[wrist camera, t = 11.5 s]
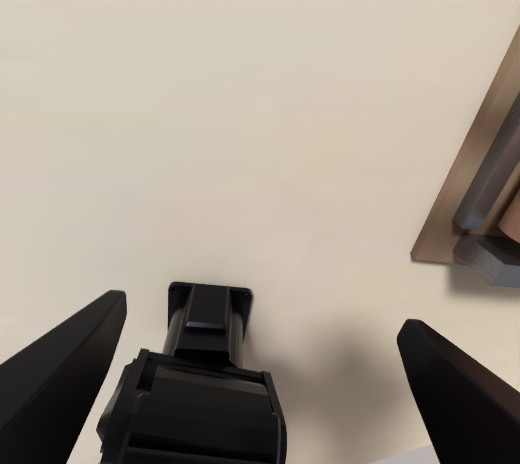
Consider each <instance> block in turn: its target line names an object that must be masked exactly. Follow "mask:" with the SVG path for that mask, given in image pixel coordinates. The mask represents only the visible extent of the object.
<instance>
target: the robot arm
mask: <svg viewBox="0 0 520 464" xmlns="http://www.w3.org/2000/svg"><path fill="white" fill-rule="evenodd" d="M174 288H177V289H174ZM243 294H248V295H243ZM251 298H252V292H251V290H250V289H248V288H240V287H229V286H218V285H207V284H196V283H185V282H172V283H171V284H170V286H169V289H168V334H167V337H166V341H165V344H164V348H163V352H162V354H161V353H155V352H150V350H148V349H142V348H141V350H140V352H139V355H138V357H137V359H135V358H134V359H133V362H132V363H131V364H128V365H125V367H124V370H123V372H122V375H121V378H120V380H119V383H118V385H117V387H116V390H115V392H114V394H113V396H112V397H111V399H110V401H109V403H108V405H107V406H106V408H105V410H104V412H103V414H102V415H101V417H100V420H99V422H98V425H97V429H96V431H97V433H98V435H99V437H100V439H101V441H102V446H101V450H100V453H103V454H102V458H101V462H100V464H285V461H286V452H287V432H286V424H285V420H284V416H283V413H282V410H281V406H280V403H279V400H278V397H277V394H276V390H275V387H274V384H273V381H272V378H271V374H270V372H266V371H262V372H258V371H252V370H247V369H242V345H243V340H244V335H245V330H246V324H247V319H248V314H249V308H250V303H251ZM126 315H127V304H126V293H125V292H124V291H120V290H109V291H108V292H106V293H105V294H103V295H102V296H100V297H99V298H97V299H96V300H94V301H93V302H91V303H90V304H89V305H87V306H86V307H84V308H83V309H81V310H80V311H78V312H77V313H75V314H74V315H72V316H71V317H69V318H68V319H67V320H65V321H64V322H62V323H61V324H59V325H58V326H56V327H55V328H53V329H52V330H50V331H49V332H47V333H46V334H45V335H43V336H42V337H40V338H39V339H37V340H36V341H34V342H33V343H31V344H30V345H28V346H27V347H25V348H24V349H23V350H21V351H20V352H18V353H17V354H15V355H14V356H12V357H11V358H9V359H8V360H6V361H5V362H3V363H2V364H1V365H0V464H66V463H67V461H68V459H69V456H70V454H71V452H72V450H73V448H74V445H75V443H76V441H77V439H78V437H79V435H80V432H81V430H82V428H83V426H84V424H85V421H86V419H87V417H88V415H89V413H90V410H91V408H92V406H93V404H94V402H95V399H96V397H97V395H98V393H99V391H100V389H101V386H102V384H103V382H104V380H105V378H106V375H107V373H108V371H109V368H110V365H111V362H112V360H113V356H114V353H115V350H116V347H117V344H118V341H119V338H120V335H121V332H122V329H123V326H124V323H125V320H126ZM397 345H398V348H399V351H400V355H401V358H402V362H403V365H404V369H405V372H406V375H407V379H408V382H409V385H410V388H411V391H412V394H413V396H414V399H415V401H416V404H417V406H418V409H419V412H420V414H421V417H422V419H423V422H424V424H425V427H426V429H427V432H428V434H429V437H430V439H431V442H432V444H433V447H434V449H435V452H436V454H437V457H438V459H439V462H440V464H520V392H518V391H517V390H516V389H514V388H513V387H512V386H510V385H509V384H507V383H506V382H505V381H503V380H502V379H501V378H499V377H498V376H496V375H495V374H494V373H492V372H491V371H490V370H488V369H487V368H486V367H484V366H483V365H481V364H480V363H479V362H477V361H476V360H475V359H473V358H472V357H471V356H469V355H468V354H466V353H465V352H464V351H462V350H461V349H460V348H458V347H457V346H455V345H454V344H453V343H451V342H450V341H449V340H447V339H446V338H445V337H443V336H442V335H440V334H439V333H438V332H436V331H435V330H434V329H432V328H431V327H429V326H428V325H427V324H425V323H424V322H423V321H421V320H417V319H407V320H406V321H405V323H404V324H403V326H402V328H401V330H400V332H399V333H398V335H397Z"/></svg>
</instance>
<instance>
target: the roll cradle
mask: <svg viewBox="0 0 520 464" xmlns="http://www.w3.org/2000/svg"><path fill="white" fill-rule="evenodd" d="M519 189H520V26H519V28H518V30H517V32H516V35H515V37H514V39H513V41H512V43H511V45H510V47H509V49H508V51H507V53H506V55H505V58H504V60H503V62H502V64H501V66H500V68H499V70H498V72H497V74H496V76H495V78H494V80H493V83H492V85H491V87H490V89H489V91H488V93H487V95H486V97H485V99H484V101H483V103H482V105H481V108H480V110H479V112H478V114H477V116H476V118H475V120H474V122H473V124H472V126H471V128H470V130H469V133H468V135H467V137H466V139H465V141H464V143H463V145H462V147H461V149H460V151H459V153H458V155H457V158H456V160H455V162H454V164H453V166H452V168H451V170H450V172H449V174H448V176H447V178H446V180H445V183H444V185H443V187H442V189H441V191H440V193H439V195H438V197H437V199H436V201H435V203H434V205H433V208H432V210H431V212H430V214H429V216H428V218H427V220H426V222H425V224H424V226H423V228H422V231H421V233H420V235H419V237H418V239H417V241H416V243H415V245H414V247H413V249H412V251H411V255H412V256H413V257H414V258H415V259H418V260H427V261H436V262H445V263H454V264H463V265H469V266H470V267H471V268H473V269H474V270H475V271H476V272H477V273H478V274H479V275H480V276H481V277H483V278H484V279H485V280H486V281H487V282H488V283H489V284H490V285H495V286H504V287H514V288H520V243H519V242H517V241H515V240H514V239H512V238H511V237H509V236H508V235H506V234H505V233H504V232H503V231H502V230H501V229H500V228H499V226H498V224H499V222H500V220H501V219H502V217H503V216H504V214H505V212H506V211H507V209H508V207H509V206H510V204H511V202H512V201H513V199H514V198H515V196H516V194H517V193H518V191H519Z"/></svg>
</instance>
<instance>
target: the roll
mask: <svg viewBox="0 0 520 464" xmlns="http://www.w3.org/2000/svg"><path fill="white" fill-rule="evenodd" d="M498 226H499V228H500V229H501V230H502V231H503V232H504V233H505V234H506V235H508V236H509V237H511V238H512V239H514V240H515V241H517V242H519V243H520V189H519V191H518V193H517V194H516V196H515V198H514V199H513V201H512V202H511V204H510V206H509V207H508V209H507V211H506V212H505V214H504V216H503V217H502V219H501V220H500V222H499V224H498Z"/></svg>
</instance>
